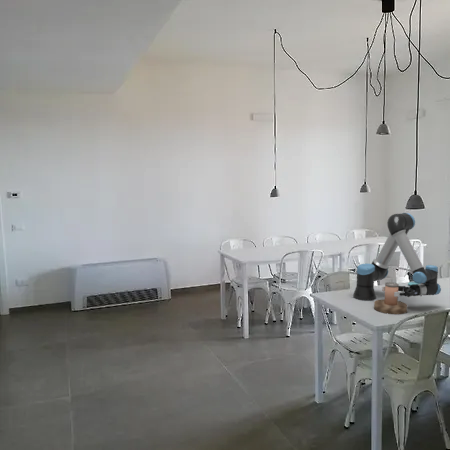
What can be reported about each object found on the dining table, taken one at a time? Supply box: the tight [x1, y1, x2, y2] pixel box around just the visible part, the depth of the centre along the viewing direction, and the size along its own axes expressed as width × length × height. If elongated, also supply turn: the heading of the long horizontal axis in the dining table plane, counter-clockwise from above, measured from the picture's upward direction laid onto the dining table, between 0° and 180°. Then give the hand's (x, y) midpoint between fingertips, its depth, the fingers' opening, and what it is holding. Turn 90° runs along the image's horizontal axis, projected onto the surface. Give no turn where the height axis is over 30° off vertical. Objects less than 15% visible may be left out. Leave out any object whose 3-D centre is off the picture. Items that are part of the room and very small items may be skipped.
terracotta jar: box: [384, 281, 400, 305], centre depth 309 cm, size 8×8×13 cm
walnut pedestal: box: [373, 298, 408, 315], centre depth 310 cm, size 20×20×4 cm
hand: (388, 291), depth 308 cm, fingers open, 13 cm apart
